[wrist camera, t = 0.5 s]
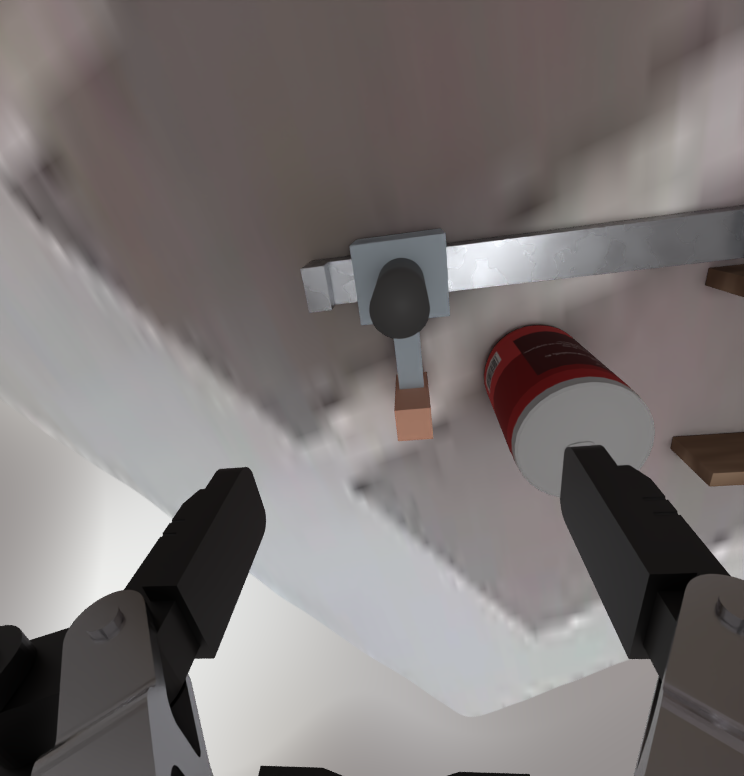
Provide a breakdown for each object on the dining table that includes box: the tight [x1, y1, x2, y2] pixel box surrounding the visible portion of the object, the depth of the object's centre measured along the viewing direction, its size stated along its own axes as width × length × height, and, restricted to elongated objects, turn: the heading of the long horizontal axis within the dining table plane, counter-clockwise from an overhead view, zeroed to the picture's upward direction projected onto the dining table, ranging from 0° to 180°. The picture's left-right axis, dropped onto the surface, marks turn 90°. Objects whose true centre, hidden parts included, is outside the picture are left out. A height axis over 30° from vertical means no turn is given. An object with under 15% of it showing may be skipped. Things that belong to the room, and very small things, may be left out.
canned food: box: [484, 325, 655, 498], centre depth 28 cm, size 8×8×11 cm
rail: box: [301, 205, 744, 313], centre depth 28 cm, size 3×30×4 cm, turn 97°
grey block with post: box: [350, 228, 450, 441], centre depth 27 cm, size 13×6×11 cm, turn 7°
